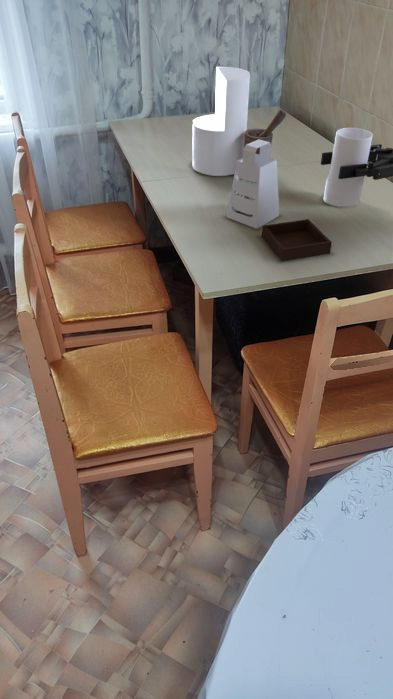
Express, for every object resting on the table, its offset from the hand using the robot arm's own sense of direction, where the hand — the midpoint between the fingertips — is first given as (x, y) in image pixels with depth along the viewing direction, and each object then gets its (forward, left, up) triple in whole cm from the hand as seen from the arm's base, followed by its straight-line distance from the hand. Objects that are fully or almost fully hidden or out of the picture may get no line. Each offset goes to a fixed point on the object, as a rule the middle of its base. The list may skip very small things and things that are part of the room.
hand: (330, 165), depth 127 cm
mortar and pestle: (+31, -34, -20) cm, 50 cm away
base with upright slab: (+3, -27, -20) cm, 34 cm away
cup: (-3, -3, -9) cm, 10 cm away
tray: (+5, +5, -20) cm, 21 cm away
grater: (+21, -5, -20) cm, 29 cm away
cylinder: (+46, -34, -20) cm, 60 cm away
